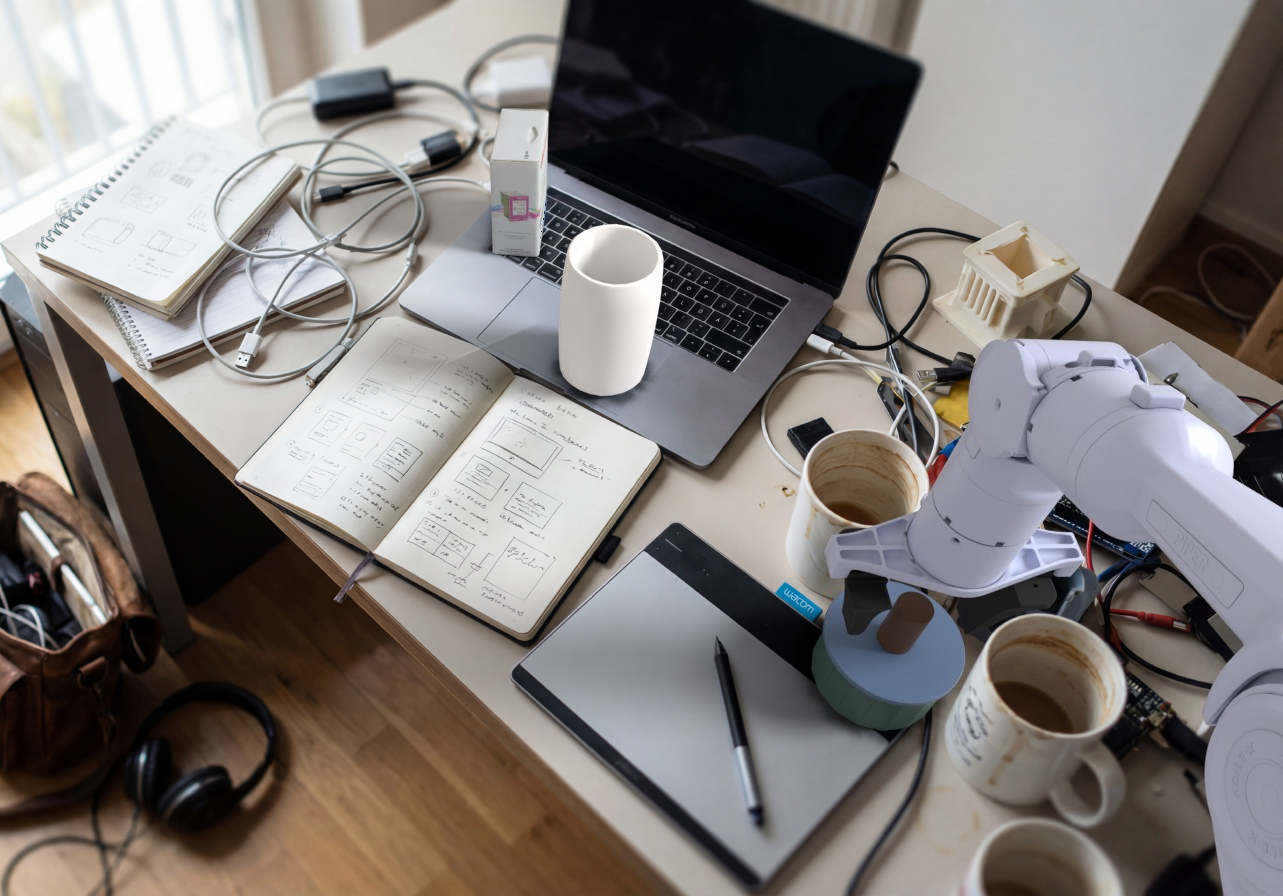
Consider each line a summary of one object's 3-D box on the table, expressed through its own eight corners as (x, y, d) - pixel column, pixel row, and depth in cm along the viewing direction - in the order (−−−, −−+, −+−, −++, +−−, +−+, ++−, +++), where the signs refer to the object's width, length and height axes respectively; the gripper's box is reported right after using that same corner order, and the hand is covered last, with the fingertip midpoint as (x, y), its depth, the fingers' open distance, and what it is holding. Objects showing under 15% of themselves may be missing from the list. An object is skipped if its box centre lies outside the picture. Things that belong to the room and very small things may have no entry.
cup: (581, 419, 90) (593, 303, 79) (539, 356, 95) (544, 238, 83) (664, 389, 92) (687, 271, 81) (619, 328, 97) (635, 209, 85)
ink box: (500, 201, 109) (500, 104, 99) (547, 205, 108) (551, 107, 99) (489, 254, 103) (489, 157, 94) (538, 258, 103) (542, 161, 93)
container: (956, 696, 73) (984, 663, 69) (867, 754, 71) (891, 724, 67) (872, 605, 78) (894, 569, 74) (785, 657, 75) (803, 623, 71)
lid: (989, 668, 70) (1022, 629, 65) (887, 734, 67) (915, 699, 62) (891, 566, 75) (916, 524, 70) (792, 624, 72) (811, 584, 67)
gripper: (1088, 447, 59) (997, 568, 70) (839, 449, 59) (787, 570, 70) (1136, 549, 55) (1032, 662, 66) (868, 551, 55) (808, 663, 66)
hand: (907, 621), depth 68 cm, fingers open, 7 cm apart
